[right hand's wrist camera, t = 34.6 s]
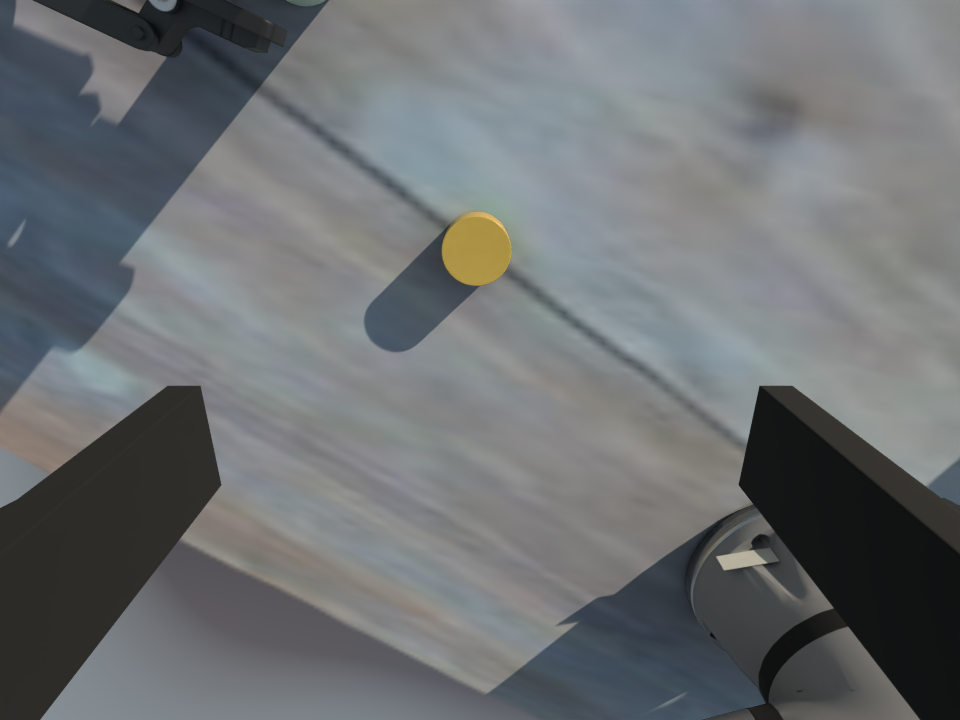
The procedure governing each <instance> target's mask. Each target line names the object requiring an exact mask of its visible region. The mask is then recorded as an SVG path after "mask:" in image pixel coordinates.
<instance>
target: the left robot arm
mask: <svg viewBox="0 0 960 720" xmlns="http://www.w3.org/2000/svg"><path fill="white" fill-rule="evenodd" d="M33 1H35V2H38V3H40V4H42V5H44V6H46V7H48V8H51V9H53V10H55V11H57V12H59V13H61V14H63V15H66V16H68V17H70V18H72V19H74V20H76V21H78V22H81V23H83V24H85V25H87V26H89V27H91V28H94V29H96V30H98V31H100V32H102V33H104V34H106V35H109V36H111V37H113V38H115V39H117V40H119V41H121V42H124V43H126V44H128V45H130V46H132V47H134V48H137V49H140V50H144V51H152V52H156V53H158V54H160V55H163V56H166V57H170V58H173V57H176V56H178V55H179V54H180V53H181V50H182V41H181V40H182V38H183V37H184V35H185V34H186V32H187V31H188V30H189V29H191V28H193V27H201V28H203V29H205V30H207V31H209V32H211V33H213V34H216V35H218V36H220V37H222V38H224V39H226V40H228V41H231V42H233V43H235V44H237V45H239V46H241V47H244V48H246V49H249V50H251V51H254V52H263V53H267V52H268V48H269V44H270V41H271V42H273V43H275V44H277V45H280V46H282V47H283V45H284V41H285V37H286V34H287V31H286V30H284V29H282V28H280V27H279V26H277V25H275V24H273V23H271V22H269V21H267V20H265V19H263V18H261V17H259V16H257V15H255V14H253V13H250V12H248V11H246V10H244V9H242V8H240V7H238V6H236V5H234V4H232V3H230V2H227V1H225V0H147V1H146V2H145V4H144V6H143V7H142V9H141V11H140V12H139V13H137V12H135V11H133V10H131V9H128V8H126V7H124V6H122V5H120V4H118V3H116V2H114V1H112V0H33Z"/></svg>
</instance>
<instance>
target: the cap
mask: <svg viewBox="0 0 960 720" xmlns="http://www.w3.org/2000/svg"><path fill="white" fill-rule="evenodd" d="M510 258H511V244H510V241H509V237H508V234H507V232H506V230H505V228H504V226H503V225H502V224H501V222H500V221H499V220H498V219H496V218H495V217H493V216H492V215H490V214H487V213H483V212H469V213H466V214H463V215H461V216H459V217H458V218H456V219H455V220H454V221H453V222H452V223H451V224H450V226H449V227H448V229H447V231H446V233H445V236H444V240H443V243H442V259H443V262H444V265H445V267H446V269H447V270H448V272H449V273H450V274H451V275H452V276H453V277H454V278H455V279H456V280H458V281H460V282H462V283H464V284H467V285H471V286H481V285H486V284H489V283H491V282H493V281H495V280H496V279H498V278H499V277H500V276H501V275H502V274H503V273H504V271H505V270H506V268H507V267H508V264H509V262H510Z"/></svg>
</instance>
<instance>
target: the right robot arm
mask: <svg viewBox="0 0 960 720" xmlns="http://www.w3.org/2000/svg"><path fill="white" fill-rule="evenodd" d="M220 486H221V481H220V476H219V472H218V467H217V462H216V457H215V453H214V448H213V443H212V438H211V434H210V429H209V424H208V419H207V415H206V410H205V405H204V401H203V396H202V391H201V386H167V387H166V388H164V389H163V390H162V391H160V392H159V393H158V394H156V395H155V396H154V397H152V398H151V399H150V400H148V401H147V402H146V403H144V404H143V405H142V406H140V407H139V408H138V409H136V410H135V411H134V412H133V413H131V414H130V415H129V416H127V417H126V418H125V419H123V420H122V421H121V422H119V423H118V424H117V425H115V426H114V427H113V428H111V429H110V430H109V431H107V432H106V433H105V434H103V435H102V436H101V437H99V438H98V439H97V440H95V441H94V442H93V443H91V444H90V445H89V446H87V447H86V448H85V449H83V450H82V451H81V452H80V453H78V454H77V455H76V456H74V457H73V458H72V459H70V460H69V461H68V462H66V463H65V464H64V465H62V466H61V467H60V468H58V469H57V470H56V471H54V472H53V473H52V474H50V475H49V476H48V477H46V478H45V479H44V480H43V481H41V482H40V483H38V484H37V485H36V486H34V487H33V488H32V489H31V490H29V491H28V492H27V493H25V494H24V495H23V496H21V497H20V498H19V499H17V500H16V501H13V502H11V503H9V504H8V505H6V506H4V507H2V508H0V720H40V719H41V718H42V717H43V715H44V714H45V713H46V711H47V710H48V709H49V707H50V706H51V705H52V704H53V702H54V701H55V700H56V698H57V697H58V696H59V695H60V693H61V692H62V691H63V689H64V688H65V687H66V686H67V684H68V683H69V682H70V680H71V679H72V678H73V676H74V675H75V674H76V673H77V671H78V670H79V669H80V667H81V666H82V665H83V663H84V662H85V661H86V660H87V658H88V657H89V656H90V654H91V653H92V652H93V651H94V649H95V648H96V647H97V645H98V644H99V643H100V641H101V640H102V639H103V638H104V636H105V635H106V634H107V632H108V631H109V630H110V629H111V627H112V626H113V625H114V623H115V622H116V621H117V619H118V618H119V617H120V616H121V614H122V613H123V612H124V610H125V609H126V608H127V607H128V605H129V604H130V603H131V601H132V600H133V599H134V597H135V596H136V595H137V593H138V592H139V591H140V590H141V588H142V587H143V586H144V585H145V583H146V582H147V581H148V579H149V578H150V577H151V575H152V574H153V573H154V572H155V570H156V569H157V568H158V566H159V565H160V564H161V563H162V561H163V560H164V559H165V557H166V556H167V555H168V553H169V552H170V551H171V550H172V548H173V547H174V546H175V544H176V543H177V542H178V541H179V539H180V538H181V537H182V535H183V534H184V533H185V531H186V530H187V529H188V528H189V526H190V525H191V524H192V522H193V521H194V520H195V518H196V517H197V516H198V515H199V513H200V512H201V511H202V509H203V508H204V507H205V506H206V504H207V503H208V502H209V500H210V499H211V498H212V496H213V495H214V494H215V493H216V491H217V490H218V489H219V487H220ZM739 486H740V487H741V489H742V490H743V491H744V493H745V494H746V495H747V496H748V498H749V499H750V500H751V502H752V503H753V504H754V505H751V506H749V507H747V508H744V509H742V510H740V511H738V512H737V513H735V514H733V515H731V516H730V517H728V518H727V519H725V520H724V521H722V522H721V523H720V524H719V525H718V526H716V527H715V528H714V529H713V530H712V531H711V532H710V533H709V534H708V535H707V536H706V537H705V538H704V539H703V540H702V542H701V543H700V544H699V546H698V547H697V549H696V551H695V552H694V554H693V556H692V558H691V560H690V563H689V566H688V569H687V574H686V593H687V597H688V600H689V603H690V605H691V607H692V609H693V612H694V614H695V616H696V618H697V620H698V622H699V623H700V625H701V626H702V628H703V629H704V631H705V632H706V633H707V635H708V636H709V637H710V638H711V639H712V640H713V641H714V642H715V643H716V644H717V645H718V646H719V647H720V648H722V649H723V650H725V651H726V652H728V654H729V655H730V657H731V658H732V660H733V661H734V662H735V663H736V665H737V666H738V667H739V668H740V669H741V670H742V672H743V673H744V674H745V675H746V676H747V677H748V678H749V679H750V680H751V681H752V682H753V683H754V684H755V685H756V686H757V688H758V689H759V691H760V693H761V695H762V697H763V699H764V700H765V702H766V704H763V705H759V706H755V707H751V708H745V709H741V710H737V711H734V712H730V713H726V714H722V715H719V716H715V717H711V718H707V719H703V720H960V506H959V505H957V504H955V503H953V502H951V501H949V500H947V499H945V498H940V497H939V496H937V495H936V494H935V493H933V492H932V491H931V490H929V489H928V488H927V487H926V486H924V485H923V484H922V483H920V482H919V481H918V480H916V479H915V478H914V477H912V476H911V475H910V474H908V473H907V472H906V471H904V470H903V469H902V468H900V467H899V466H898V465H896V464H895V463H894V462H892V461H891V460H890V459H888V458H887V457H886V456H884V455H883V454H882V453H880V452H879V451H878V450H877V449H875V448H874V447H873V446H871V445H870V444H869V443H867V442H866V441H865V440H863V439H862V438H861V437H859V436H858V435H857V434H855V433H854V432H853V431H851V430H850V429H849V428H847V427H846V426H845V425H843V424H842V423H841V422H839V421H838V420H837V419H835V418H834V417H833V416H831V415H830V414H829V413H827V412H826V411H825V410H824V409H822V408H821V407H820V406H818V405H817V404H816V403H814V402H813V401H812V400H810V399H809V398H808V397H806V396H805V395H804V394H802V393H801V392H800V391H798V390H797V389H796V388H794V387H793V386H759V391H758V396H757V401H756V405H755V410H754V415H753V419H752V424H751V429H750V434H749V438H748V443H747V448H746V453H745V457H744V462H743V467H742V472H741V476H740V481H739Z"/></svg>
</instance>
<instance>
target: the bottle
mask: <svg viewBox="0 0 960 720" xmlns="http://www.w3.org/2000/svg"><path fill="white" fill-rule="evenodd" d="M286 1H288V2H290V3H292V4H295V5H298V6H315V5H318V4H320V3H322V2H324V1H326V0H286Z"/></svg>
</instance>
